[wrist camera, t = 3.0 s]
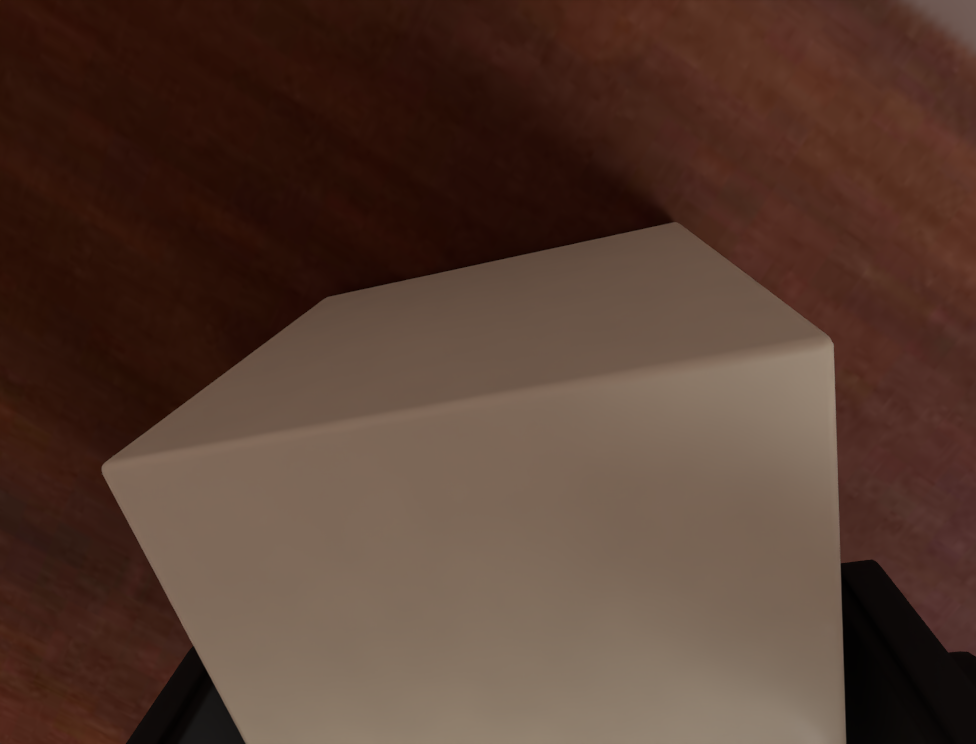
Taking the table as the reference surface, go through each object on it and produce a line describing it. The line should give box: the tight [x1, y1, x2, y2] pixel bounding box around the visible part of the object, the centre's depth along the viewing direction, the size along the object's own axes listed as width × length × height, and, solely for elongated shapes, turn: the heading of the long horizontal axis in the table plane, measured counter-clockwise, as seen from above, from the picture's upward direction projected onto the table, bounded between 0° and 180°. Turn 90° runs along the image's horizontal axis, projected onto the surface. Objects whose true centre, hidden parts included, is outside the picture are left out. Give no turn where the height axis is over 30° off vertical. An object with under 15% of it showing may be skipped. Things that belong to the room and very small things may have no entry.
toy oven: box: [102, 222, 846, 744], centre depth 10 cm, size 7×12×6 cm, turn 13°
